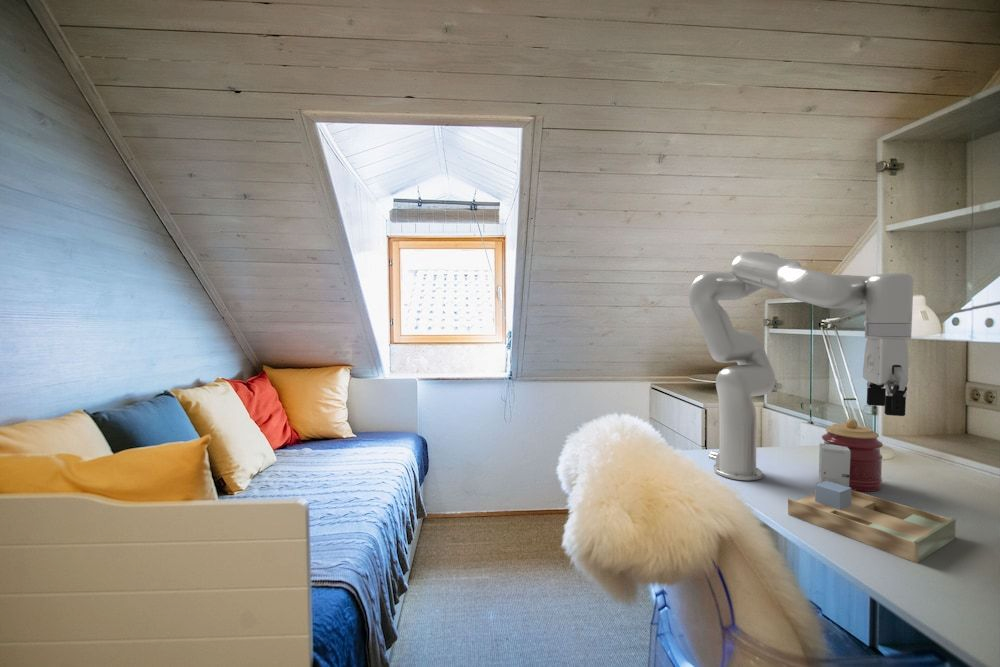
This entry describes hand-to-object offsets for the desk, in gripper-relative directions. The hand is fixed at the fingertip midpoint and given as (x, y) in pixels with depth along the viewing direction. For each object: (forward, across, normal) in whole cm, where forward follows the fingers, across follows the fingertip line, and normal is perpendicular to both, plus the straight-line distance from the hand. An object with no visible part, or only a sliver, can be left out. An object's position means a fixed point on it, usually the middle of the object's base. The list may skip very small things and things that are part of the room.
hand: (884, 410), depth 95 cm
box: (+26, +2, -3) cm, 26 cm away
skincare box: (+26, -16, -4) cm, 31 cm away
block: (+23, -2, -8) cm, 25 cm away
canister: (+26, -26, +2) cm, 37 cm away
